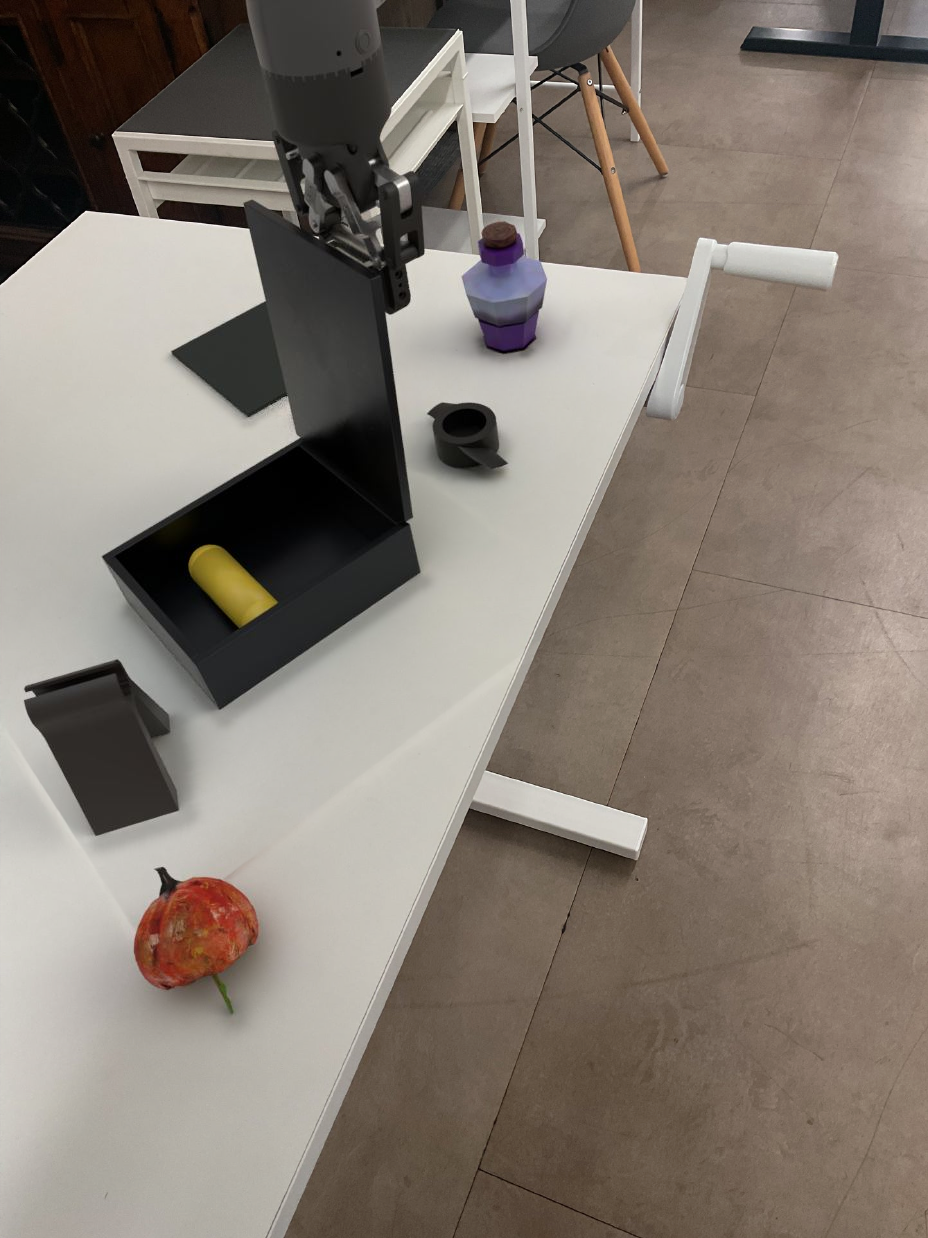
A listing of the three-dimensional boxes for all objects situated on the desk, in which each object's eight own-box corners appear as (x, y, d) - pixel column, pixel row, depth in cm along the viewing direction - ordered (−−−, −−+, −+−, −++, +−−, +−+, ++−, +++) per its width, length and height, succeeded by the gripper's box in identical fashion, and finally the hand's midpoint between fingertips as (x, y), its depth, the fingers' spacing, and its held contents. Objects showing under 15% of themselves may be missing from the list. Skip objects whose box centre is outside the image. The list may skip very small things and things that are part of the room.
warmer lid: (370, 279, 63) (437, 248, 65) (242, 202, 72) (305, 177, 74) (405, 522, 78) (458, 491, 80) (296, 434, 87) (347, 408, 89)
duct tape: (509, 409, 96) (506, 384, 94) (509, 480, 90) (507, 455, 88) (429, 416, 97) (424, 391, 95) (424, 487, 91) (419, 462, 88)
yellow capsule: (260, 657, 79) (247, 628, 76) (188, 581, 85) (174, 551, 83) (298, 632, 80) (286, 603, 78) (224, 558, 87) (211, 529, 84)
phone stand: (182, 817, 71) (118, 722, 62) (99, 842, 71) (22, 750, 62) (172, 718, 77) (112, 618, 68) (95, 741, 77) (24, 643, 68)
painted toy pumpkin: (295, 975, 65) (240, 830, 66) (273, 1014, 58) (212, 851, 58) (187, 1017, 65) (133, 872, 66) (152, 1062, 58) (92, 898, 58)
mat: (248, 417, 100) (247, 414, 100) (172, 354, 109) (170, 350, 109) (375, 344, 106) (375, 340, 106) (293, 289, 115) (292, 286, 114)
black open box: (222, 715, 77) (196, 666, 72) (130, 606, 85) (100, 555, 81) (422, 578, 84) (410, 524, 79) (317, 490, 92) (301, 436, 87)
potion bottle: (558, 314, 105) (552, 205, 96) (542, 365, 100) (534, 254, 91) (479, 311, 107) (465, 204, 98) (459, 360, 102) (443, 252, 93)
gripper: (207, 39, 64) (274, 278, 76) (335, 96, 56) (387, 353, 68) (304, 0, 66) (354, 238, 79) (441, 49, 58) (471, 305, 71)
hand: (369, 290), depth 74 cm, fingers closed on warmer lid, 6 cm apart
